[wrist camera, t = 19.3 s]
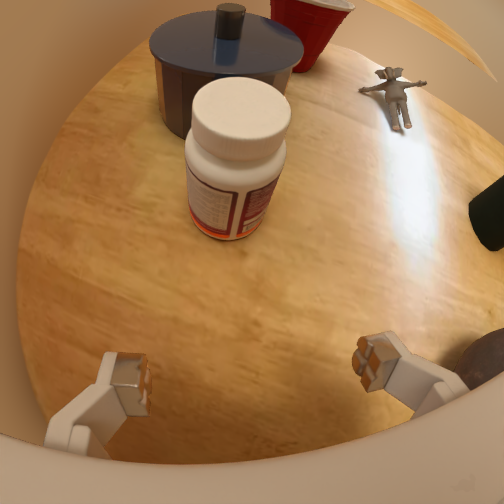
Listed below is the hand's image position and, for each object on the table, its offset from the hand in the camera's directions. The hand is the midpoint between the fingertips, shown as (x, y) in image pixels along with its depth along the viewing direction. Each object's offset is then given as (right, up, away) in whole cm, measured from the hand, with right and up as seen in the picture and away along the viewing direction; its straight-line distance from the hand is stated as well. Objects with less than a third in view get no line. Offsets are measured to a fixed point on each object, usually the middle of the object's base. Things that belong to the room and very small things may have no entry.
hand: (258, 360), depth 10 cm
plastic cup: (+5, +30, +24) cm, 39 cm away
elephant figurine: (+19, +23, +23) cm, 38 cm away
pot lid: (-2, +23, +10) cm, 25 cm away
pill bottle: (-2, +8, +14) cm, 16 cm away
